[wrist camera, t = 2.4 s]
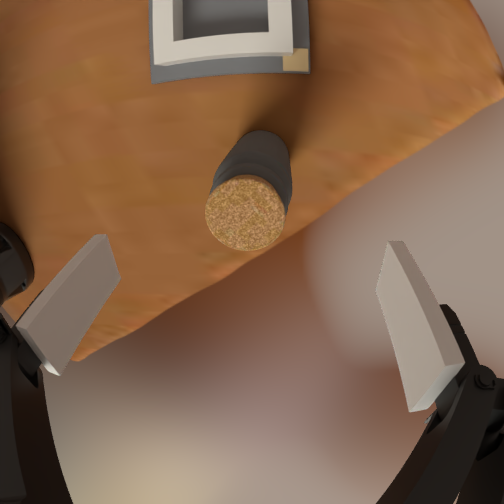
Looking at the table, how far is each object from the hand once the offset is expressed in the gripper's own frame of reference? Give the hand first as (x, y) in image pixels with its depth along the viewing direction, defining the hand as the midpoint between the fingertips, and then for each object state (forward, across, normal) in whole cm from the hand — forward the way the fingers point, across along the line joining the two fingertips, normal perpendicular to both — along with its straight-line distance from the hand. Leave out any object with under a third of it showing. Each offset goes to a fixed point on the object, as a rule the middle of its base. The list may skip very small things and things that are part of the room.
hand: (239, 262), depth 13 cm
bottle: (+20, 0, 0) cm, 20 cm away
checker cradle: (+20, +4, -17) cm, 26 cm away
